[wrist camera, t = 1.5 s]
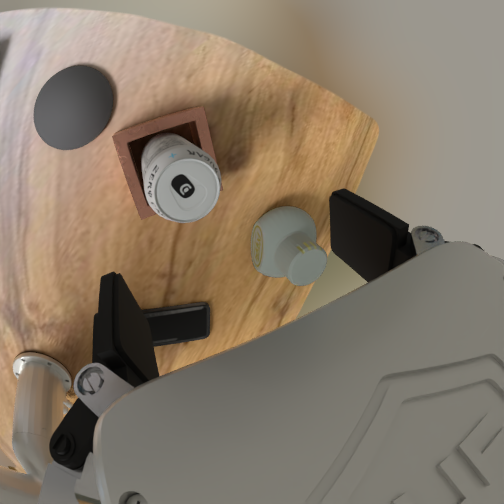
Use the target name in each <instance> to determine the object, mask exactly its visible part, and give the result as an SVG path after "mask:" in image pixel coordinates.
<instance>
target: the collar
mask: <svg viewBox="0 0 504 504" xmlns="http://www.w3.org/2000/svg"><path fill="white" fill-rule="evenodd" d="M187 122H189V126H190V130H191V134H192V138H193V142H194V145H195V146H197V147H198V148H200V149H201V150H203V151H204V152H206V153H207V154H209V155H210V156H211V157H212V158H213V159H214V160H215V162H216V157H215V153H214V149H213V145H212V140H211V136H210V132H209V127H208V123H207V119H206V114H205V110H204V107H192V108H189V109H185V110H182V111H178V112H175V113H171V114H168V115H165V116H162V117H159V118H155V119H152V120H149V121H146V122H144V123H141V124H138V125H135V126H132V127H130V128H127V129H124V130H122V131H119V132H117V133H115V134H114V135H113V136H112V137H113V141H114V144H115V147H116V150H117V153H118V157H119V160H120V163H121V166H122V169H123V172H124V174H125V177H126V180H127V183H128V186H129V189H130V191H131V194H132V197H133V200H134V202H135V205H136V208H137V210H138V213H139V215H140V218H141V220H142V219H145V218H147V217H150V216H152V215H155V214H157V213H156V212H154V210H153V209H152V208H151V207H150V205H149V203H148V201H147V199H146V195H145V191H144V188H143V185H142V182H141V179H140V176H139V173H138V170H137V167H136V164H135V161H134V157H133V154H132V151H131V148H130V144H129V142H130V141H133V140H136V139H138V138H141V137H144V136H147V135H150V134H153V133H156V132H159V131H162V130H165V129H168V128H171V127H174V126H177V125H181V124H184V123H187ZM216 164H217V162H216ZM222 190H223V187H222V183H221V188H220V191H222Z"/></svg>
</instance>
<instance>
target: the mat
mask: <svg viewBox="0 0 504 504" xmlns="http://www.w3.org/2000/svg"><path fill="white" fill-rule="evenodd" d="M112 107H113V94H112V89H111V86H110V84H109V82H108V81H107V79H106V78H105V77H104V76H103V75H102V74H101V73H100V72H99V71H97V70H96V69H94V68H91V67H87V66H73V67H69V68H66V69H64V70H62V71H60V72H58V73H56V74H55V75H54V76H52V77H51V78H50V79H49V80H48V81H47V82H46V83H45V85H44V86H43V88H42V89H41V91H40V93H39V94H38V97H37V99H36V103H35V107H34V123H35V127H36V130H37V132H38V134H39V136H40V137H41V138H42V140H43V141H44V142H45V143H47V144H48V145H50V146H52V147H54V148H57V149H61V150H71V149H76V148H79V147H82V146H84V145H86V144H88V143H89V142H91V141H92V140H93V139H95V138H96V137H97V136H98V135H99V134H100V133H101V131H102V130H103V129H104V127H105V126H106V124H107V122H108V120H109V118H110V115H111V112H112Z"/></svg>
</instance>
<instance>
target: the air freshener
mask: <svg viewBox="0 0 504 504" xmlns="http://www.w3.org/2000/svg"><path fill="white" fill-rule="evenodd" d="M251 256H252V261H253V265H254V267H255V269H256V270H257V271H259V272H260V273H262V274H263V275H266V276H269V277H275V278H277V277H285V276H286V277H287V278H288V279H289V280H290V282H291V283H292V284H294V285H297V286H302V285H303V286H304V285H308V284H311V283H312V282H314V281H315V280H317V279H318V278H319V277H320V276H321V274H322V273H323V271H324V269H325V267H326V263H327V254H326V252H325V251H324V249H322V248H321V247H320V246H319V245H318V244H317V243H316V227H315V223H314V221H313V219H312V218H311V216H310V215H309V214H308V213H306V212H305V211H303V210H302V209H300V208H297V207H292V206H283V207H278V208H275V209H272V210H270V211H269V212H267V213H265V214H264V215H263V216H262V217H260V218H259V219H258V221H257V222H256V223H255V225H254V227H253V230H252V235H251Z"/></svg>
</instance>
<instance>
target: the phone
mask: <svg viewBox="0 0 504 504" xmlns="http://www.w3.org/2000/svg"><path fill="white" fill-rule="evenodd" d="M142 312H143V314H144V315H145V317H146V319H147V321H148V323H149V326H150V330H151V336H152V342H153V347H155V346H162V345H169V344H176V343H182V342H188V341H194V340H200V339H205V338H207V337H208V336H209V334H210V307H209V305H208V303H206V302H199V303H192V304H185V305H177V306H170V307H162V308H154V309H146V310H142Z"/></svg>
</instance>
